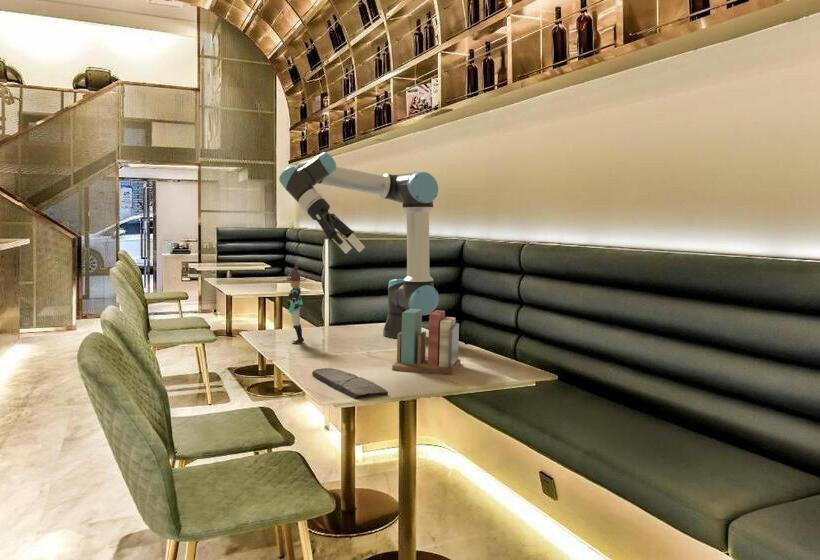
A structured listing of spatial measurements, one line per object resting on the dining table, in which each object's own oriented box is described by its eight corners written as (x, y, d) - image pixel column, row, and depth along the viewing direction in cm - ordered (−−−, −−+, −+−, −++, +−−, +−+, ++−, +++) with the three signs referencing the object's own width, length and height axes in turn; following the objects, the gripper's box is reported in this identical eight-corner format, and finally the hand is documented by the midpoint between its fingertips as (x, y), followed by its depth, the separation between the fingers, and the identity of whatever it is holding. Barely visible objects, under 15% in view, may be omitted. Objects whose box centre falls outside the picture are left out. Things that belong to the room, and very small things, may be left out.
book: (408, 357, 200) (410, 308, 199) (420, 358, 199) (421, 309, 198) (400, 363, 190) (402, 312, 189) (413, 364, 189) (414, 313, 188)
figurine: (286, 338, 238) (286, 260, 235) (309, 338, 238) (310, 261, 235) (276, 348, 218) (277, 263, 215) (302, 348, 218) (303, 264, 215)
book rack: (405, 359, 204) (406, 307, 202) (460, 363, 199) (462, 310, 198) (392, 370, 188) (393, 313, 187) (451, 374, 184) (453, 317, 182)
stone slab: (340, 365, 185) (390, 384, 159) (340, 376, 185) (391, 396, 160) (308, 369, 179) (355, 389, 154) (308, 380, 179) (355, 402, 154)
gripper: (321, 213, 222) (360, 256, 220) (291, 211, 198) (334, 259, 196) (335, 199, 221) (374, 242, 218) (307, 195, 196) (350, 243, 194)
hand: (355, 250), depth 207 cm, fingers open, 13 cm apart
